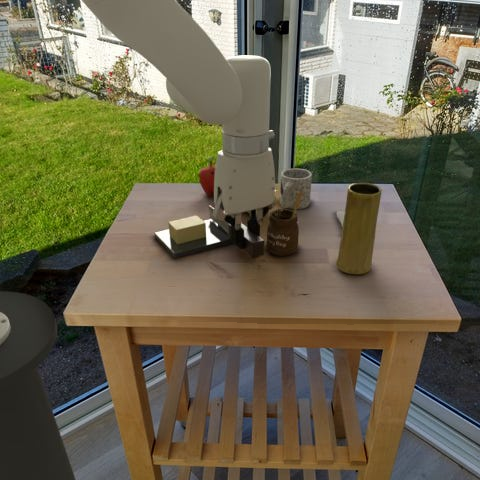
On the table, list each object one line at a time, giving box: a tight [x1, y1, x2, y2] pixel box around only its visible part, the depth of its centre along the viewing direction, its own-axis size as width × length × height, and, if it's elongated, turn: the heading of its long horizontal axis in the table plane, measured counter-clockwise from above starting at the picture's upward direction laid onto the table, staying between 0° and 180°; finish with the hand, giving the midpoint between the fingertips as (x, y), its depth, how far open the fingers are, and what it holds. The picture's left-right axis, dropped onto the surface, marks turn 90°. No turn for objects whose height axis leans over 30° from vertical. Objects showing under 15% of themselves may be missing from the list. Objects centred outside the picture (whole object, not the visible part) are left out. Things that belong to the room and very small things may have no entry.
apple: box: [198, 154, 216, 197], centre depth 112 cm, size 8×7×10 cm
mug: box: [279, 167, 313, 210], centre depth 108 cm, size 10×7×7 cm, turn 153°
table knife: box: [208, 204, 265, 259], centre depth 94 cm, size 2×19×3 cm, turn 29°
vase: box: [335, 182, 383, 275], centre depth 83 cm, size 6×6×14 cm
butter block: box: [168, 215, 206, 244], centre depth 95 cm, size 6×4×3 cm, turn 119°
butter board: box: [154, 218, 233, 259], centre depth 97 cm, size 16×10×1 cm, turn 119°
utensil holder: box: [266, 189, 303, 257], centre depth 90 cm, size 6×6×12 cm
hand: (245, 243), depth 91 cm, fingers closed on table knife, 2 cm apart
